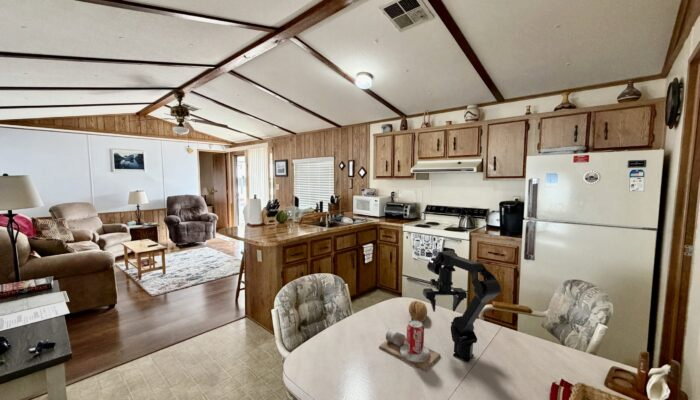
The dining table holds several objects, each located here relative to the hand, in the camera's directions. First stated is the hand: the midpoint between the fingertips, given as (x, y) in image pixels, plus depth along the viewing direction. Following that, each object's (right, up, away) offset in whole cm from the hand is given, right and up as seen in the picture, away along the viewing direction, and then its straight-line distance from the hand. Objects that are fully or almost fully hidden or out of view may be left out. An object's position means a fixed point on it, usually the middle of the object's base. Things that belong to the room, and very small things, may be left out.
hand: (443, 311), depth 136 cm
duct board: (-18, -14, -10) cm, 25 cm away
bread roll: (-7, -11, +21) cm, 25 cm away
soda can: (-16, -12, -12) cm, 24 cm away
